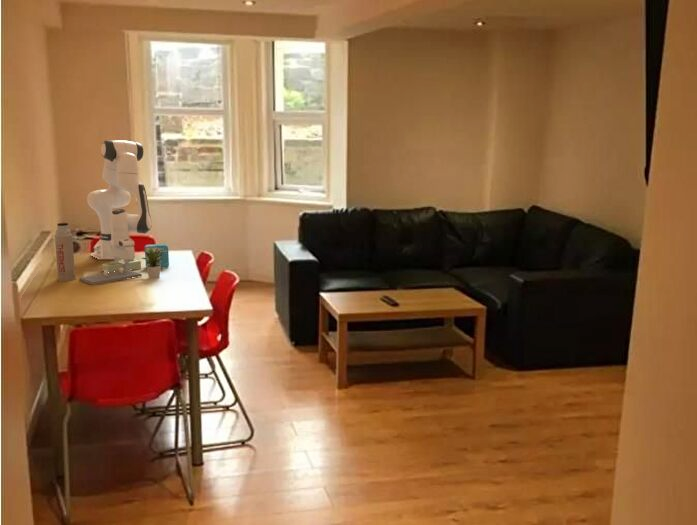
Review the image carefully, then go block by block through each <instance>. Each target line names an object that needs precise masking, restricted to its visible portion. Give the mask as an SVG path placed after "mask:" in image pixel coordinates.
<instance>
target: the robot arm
mask: <svg viewBox="0 0 697 525" xmlns="http://www.w3.org/2000/svg"><path fill="white" fill-rule="evenodd" d="M100 152H101V156H102V157H103V158H104V163H103V170H102V176H101V178H102V180H103V181H104V182H105V183H106V184H108V188H104V189H97V190H94V191H90V192H89V193H88V195H87V198H86V200H87V201H86V202H87V204H88V206H89V208H91V209H92V210H94V211H95V213H96V214H97V216H98V218H99V223H100V233H99V240H98V241H97V242H96V244H95V245H94V246H93V252H92V253H90V256H91V257H92V256H93V257H92V258H94V257H95V259H96V258H97V259H96V260H114V262H120V260H122V261H124V262H125V264H124V268H128V264H129V261H131V260H134V259H135V257H136V256H135V254H136V252H135V247H134V246H135V241H134V240H133V239H132V238H131V237H130V233H136V234H137V233H138V234H147V233H148V232H149V231H151V229H152V226H153V221H152V217H151V214H150V209H149V202H148V196H147V191H146V190H147V189H146V187H145V185H144V184H143V183H142V182H141V180H140V176H139V175H140V174H139V173H140V172H139V170H140V169H139V161H141V160H142V159H143V156H144V146H143V145H142V144H141V143H140V142H137V141H129V140H125V139H124V140H112V139H108V140H104V141H103V142H102V143H101V147H100ZM131 194H132V195H134V196H135V198H136V200H137V206H138V212H139V214H136V213H134V214H133V213H128V212H127V210H126V209H123V208H122V207H125V206H127V205H129V204H130V203H131V201H132V195H131ZM116 208H118V209H116ZM113 209H114V210H113Z"/></svg>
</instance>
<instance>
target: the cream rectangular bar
mask: <svg viewBox="0 0 697 525" xmlns="http://www.w3.org/2000/svg"><path fill="white" fill-rule="evenodd" d="M124 264H125V262H124V260H121V261H120V260H119V262H115V261H113V262H108V263H102V264H101V267H102V271H104V270H107V271H108V272H114V271H119V268H123V270H130V269H134V270H139V269H138V268H140V269H142V266H141V265H142V262H141V260H138V259H135V258H134V260H131V261H129V264H128V268H124Z"/></svg>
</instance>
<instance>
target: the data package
mask: <svg viewBox="0 0 697 525" xmlns="http://www.w3.org/2000/svg"><path fill="white" fill-rule="evenodd" d="M151 246H152V249H153V255H154V252H155V250H156V249H157V248H158V250H157V252H158V251H159V250H160V249H161V248H162V249H161V251H160V252H161V253H160V254H159V255H161V254H164V255H162V256H160V257H158V259H159V258H160V259H162V258H163V257H164V258H163V260H162V262H161V261H158V262H159V263H158V264H159V265H161V268H160V269H163V268H168V267H169V266H170V260H169V256H170V255H169V246H168V245H167V244H166V243H162V244H159V243H157V244H146V245H145V246H144V251H145V252H148V253H150V252H149V251H148V250H149V248H151ZM158 246H159V247H158ZM164 250H165V251H164ZM162 251H163V253H162ZM145 252H144V253H145ZM166 253H168V254H166ZM144 258H146V259H147V260H149V259H148V256H147V255H146V254H144ZM158 259H157V260H158ZM144 260H145V259H144ZM149 261H150V260H149ZM147 265H150V264H149V263H146V260H145V267H146V266H147Z"/></svg>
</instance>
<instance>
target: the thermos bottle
mask: <svg viewBox="0 0 697 525" xmlns="http://www.w3.org/2000/svg"><path fill="white" fill-rule="evenodd" d="M54 241H55V243H54V245H55V255H56V267H57V279H58V281H61V282H70V281H74V280H76V269H75V268H76V267H75V255H74V254H75V253H74V242H73V241H74V240H73V234H72V233H71V229H70V228H69V223H68V222H60V223H57V229H56V230H55V234H54Z"/></svg>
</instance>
